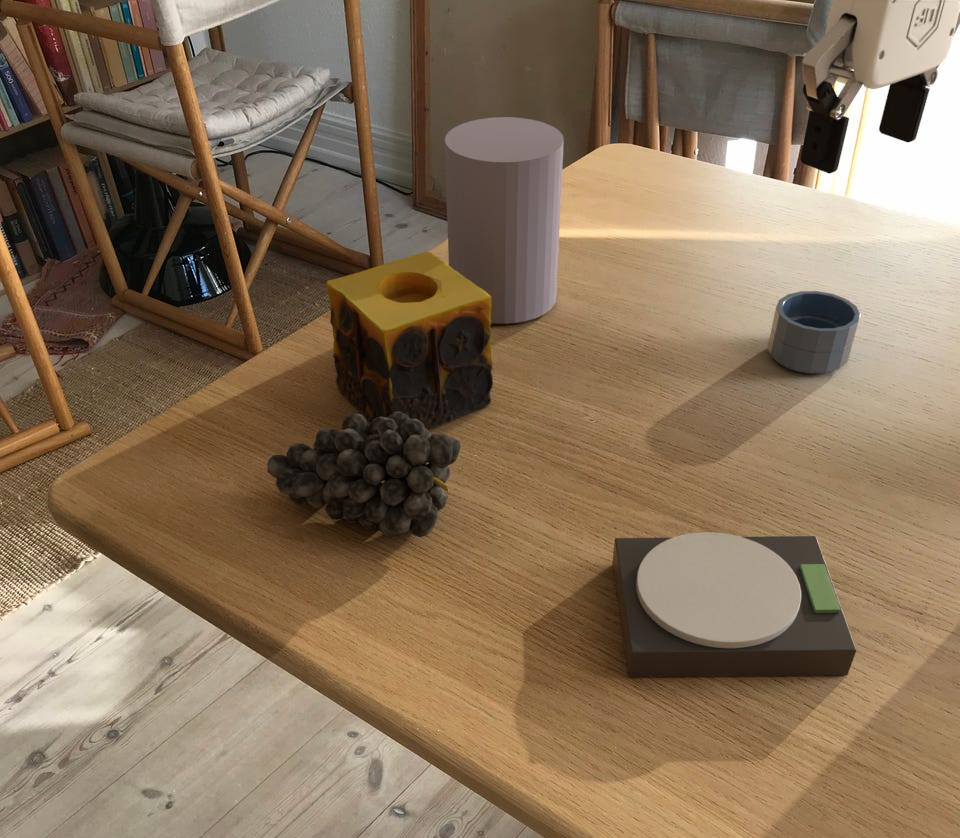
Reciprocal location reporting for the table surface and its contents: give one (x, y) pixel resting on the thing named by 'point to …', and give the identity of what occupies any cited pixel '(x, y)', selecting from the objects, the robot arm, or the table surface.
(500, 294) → the container
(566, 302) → the table surface
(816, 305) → the bowl
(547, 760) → the table surface
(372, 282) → the candle
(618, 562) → the scale
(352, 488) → the fruit
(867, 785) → the table surface
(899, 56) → the robot arm
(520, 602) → the table surface
